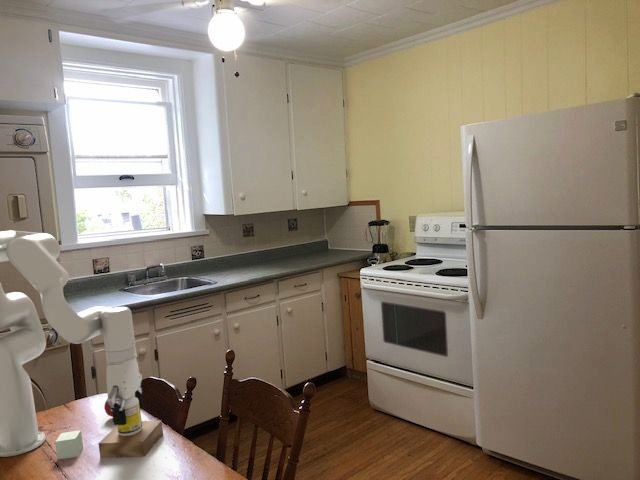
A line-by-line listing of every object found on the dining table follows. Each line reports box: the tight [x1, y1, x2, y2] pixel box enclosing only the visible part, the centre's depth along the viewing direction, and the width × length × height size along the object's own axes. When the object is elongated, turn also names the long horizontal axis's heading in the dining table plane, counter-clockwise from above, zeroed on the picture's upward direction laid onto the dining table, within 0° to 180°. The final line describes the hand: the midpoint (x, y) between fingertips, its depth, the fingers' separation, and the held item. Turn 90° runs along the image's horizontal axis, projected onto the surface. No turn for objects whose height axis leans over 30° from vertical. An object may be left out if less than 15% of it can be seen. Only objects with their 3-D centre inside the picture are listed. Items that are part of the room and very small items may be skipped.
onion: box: [103, 400, 113, 418], centre depth 158 cm, size 6×6×8 cm
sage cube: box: [54, 429, 84, 460], centre depth 138 cm, size 5×5×5 cm
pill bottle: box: [116, 392, 142, 436], centre depth 138 cm, size 6×6×11 cm
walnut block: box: [97, 419, 164, 459], centre depth 139 cm, size 12×12×4 cm
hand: (129, 416), depth 138 cm, fingers open, 9 cm apart
